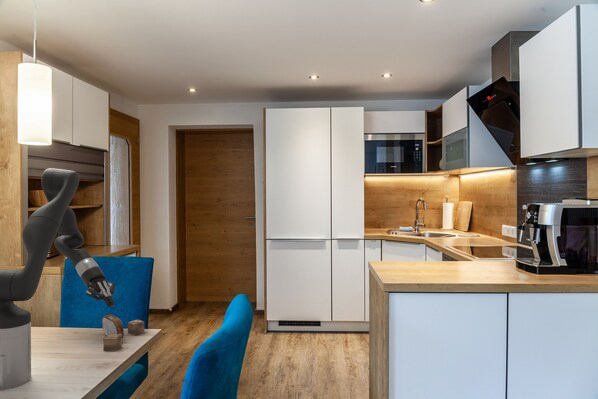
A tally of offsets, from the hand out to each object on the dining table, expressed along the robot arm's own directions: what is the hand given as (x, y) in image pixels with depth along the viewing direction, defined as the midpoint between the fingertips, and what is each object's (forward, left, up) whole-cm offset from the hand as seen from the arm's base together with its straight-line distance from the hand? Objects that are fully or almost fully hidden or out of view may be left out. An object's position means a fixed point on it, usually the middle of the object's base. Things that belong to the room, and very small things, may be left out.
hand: (112, 305), depth 156 cm
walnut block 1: (-8, -9, -13) cm, 17 cm away
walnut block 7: (+8, -4, -13) cm, 16 cm away
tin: (0, 0, -13) cm, 13 cm away
